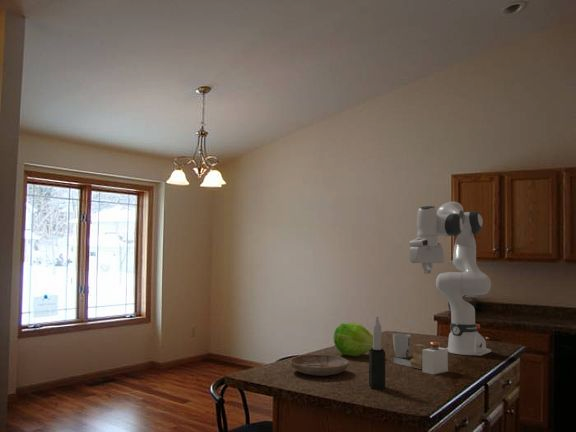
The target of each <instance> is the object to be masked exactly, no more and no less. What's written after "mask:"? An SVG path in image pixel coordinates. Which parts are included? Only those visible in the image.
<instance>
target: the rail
mask: <svg viewBox="0 0 576 432" xmlns="http://www.w3.org/2000/svg"><path fill="white" fill-rule="evenodd" d="M392 359H393V361H392V362H393V364H397V365H401V366H406V367H409V368H412V367H411V360H409V359H405V358H400V357H393V358H392ZM417 369H419V368H417ZM419 370H420V369H419Z"/></svg>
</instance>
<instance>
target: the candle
mask: <svg viewBox="0 0 576 432" xmlns="http://www.w3.org/2000/svg"><path fill="white" fill-rule="evenodd" d="M375 318H376V319H375V321H374V322H375V323H374V324H373V326H372V336H373V348H371V350H369V351H368V352H369V353H368V354H369V356H368V358H369V359H368V367H369V368H368V387H370V388H371V389H372V390H385V389H386V351H385V349H384V348H382V325H381V323H380V321H379V316H376V317H375Z"/></svg>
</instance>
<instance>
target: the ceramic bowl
mask: <svg viewBox="0 0 576 432" xmlns="http://www.w3.org/2000/svg"><path fill="white" fill-rule="evenodd" d="M349 363H350V362H349V360H348V359H346V358H344V357H342V356H337V355H329V354H306V355H299V356H294V357H292V358H291V359H290V361H289V364H290V366H291V367H292V368H293V369H294V370H295V371H297V372H300V373H301V374H304V375H308V376H317V377H327V376H333V375H336V374H340V373H342V372H344V371H345V370H346V369H347V368H348V367H349Z"/></svg>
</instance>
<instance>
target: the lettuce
mask: <svg viewBox="0 0 576 432" xmlns="http://www.w3.org/2000/svg"><path fill="white" fill-rule="evenodd" d="M333 343H334V346H335V347H336V349H337V350H338V352H340V354H342V355H344V356H349V357H359V356H362V355H364V354H366V353H367V352H369V350H371V348H373V333H371V332H370V331H369V330H368V329H367V328H366V327H365V326H364V325H362V324H360V323H356V322H344V323H343V322H342V323H340V324H339V325H338V326H337V327H336V328H335V330H334V333H333Z"/></svg>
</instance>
